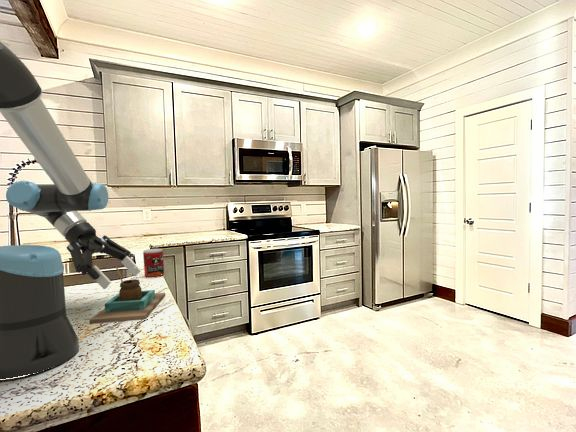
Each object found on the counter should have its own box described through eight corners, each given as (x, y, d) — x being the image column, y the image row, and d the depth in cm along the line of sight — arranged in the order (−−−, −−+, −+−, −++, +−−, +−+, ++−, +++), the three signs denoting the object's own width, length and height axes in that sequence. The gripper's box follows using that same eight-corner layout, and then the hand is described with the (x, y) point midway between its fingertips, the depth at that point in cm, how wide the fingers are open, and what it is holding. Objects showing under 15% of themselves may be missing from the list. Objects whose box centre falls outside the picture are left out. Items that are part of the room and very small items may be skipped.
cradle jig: (145, 318, 83) (144, 306, 83) (89, 323, 81) (88, 310, 81) (165, 295, 103) (164, 285, 102) (120, 298, 101) (120, 288, 101)
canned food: (147, 279, 125) (145, 252, 125) (142, 275, 132) (141, 250, 131) (166, 275, 130) (165, 250, 129) (161, 272, 136) (160, 247, 136)
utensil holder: (145, 304, 92) (142, 264, 91) (122, 310, 87) (119, 268, 87) (138, 299, 96) (136, 261, 95) (116, 305, 92) (113, 265, 91)
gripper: (99, 233, 107) (141, 276, 105) (29, 244, 82) (83, 301, 81) (112, 217, 105) (155, 261, 104) (45, 224, 81) (100, 282, 80)
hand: (124, 279), depth 92 cm, fingers open, 13 cm apart
